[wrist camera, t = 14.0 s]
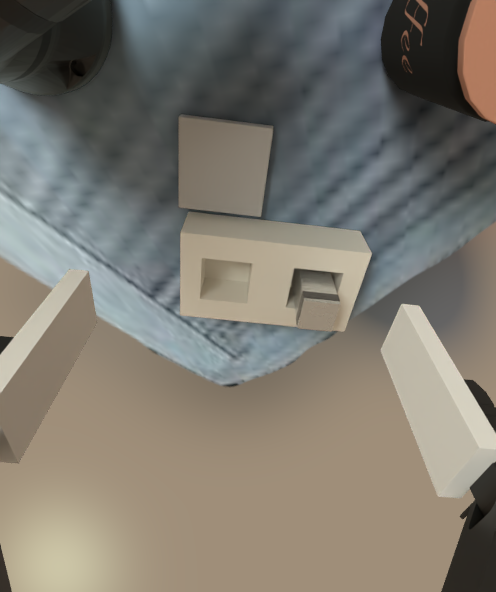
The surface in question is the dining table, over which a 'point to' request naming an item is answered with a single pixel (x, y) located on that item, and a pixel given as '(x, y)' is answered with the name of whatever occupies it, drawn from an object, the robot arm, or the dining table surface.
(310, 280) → the plug
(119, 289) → the dining table surface
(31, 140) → the dining table surface
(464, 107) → the coffee jar
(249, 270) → the port box
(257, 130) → the beige flat square plate
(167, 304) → the dining table surface
